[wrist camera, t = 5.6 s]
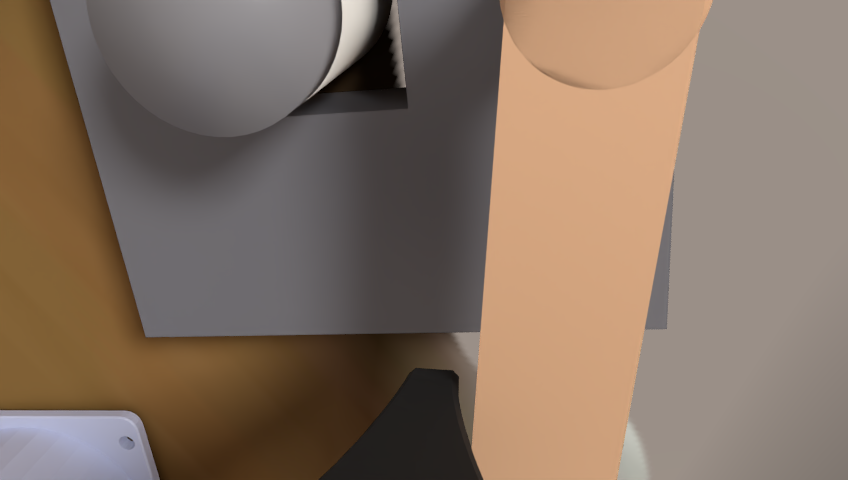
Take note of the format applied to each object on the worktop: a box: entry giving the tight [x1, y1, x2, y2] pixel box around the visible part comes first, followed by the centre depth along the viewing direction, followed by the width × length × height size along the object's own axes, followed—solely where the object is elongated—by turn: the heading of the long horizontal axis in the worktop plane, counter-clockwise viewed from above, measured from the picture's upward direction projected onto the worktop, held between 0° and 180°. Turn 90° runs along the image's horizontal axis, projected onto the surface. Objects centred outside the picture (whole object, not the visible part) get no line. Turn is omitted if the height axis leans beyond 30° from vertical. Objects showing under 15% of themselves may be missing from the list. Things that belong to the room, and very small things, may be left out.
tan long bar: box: [472, 0, 713, 480], centre depth 11 cm, size 12×3×2 cm, turn 178°
